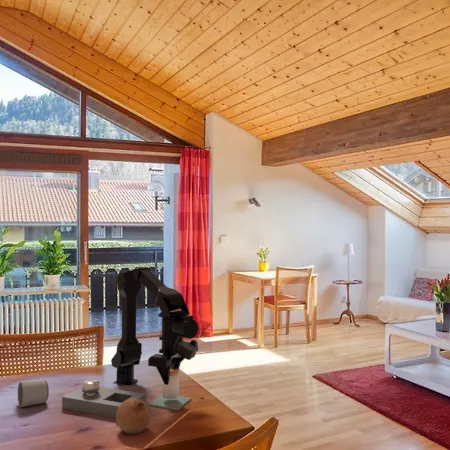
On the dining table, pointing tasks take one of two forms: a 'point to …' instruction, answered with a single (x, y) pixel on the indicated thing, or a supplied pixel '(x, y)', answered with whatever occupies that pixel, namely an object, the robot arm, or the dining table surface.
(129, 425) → the onion
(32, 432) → the dining table surface
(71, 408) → the housing
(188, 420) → the dining table surface
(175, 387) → the small lidded jar
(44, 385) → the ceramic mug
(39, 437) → the dining table surface
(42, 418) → the dining table surface
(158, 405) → the mat
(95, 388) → the plunger
